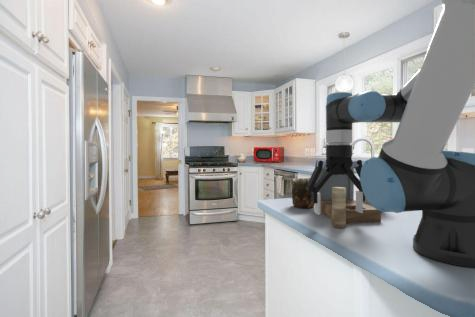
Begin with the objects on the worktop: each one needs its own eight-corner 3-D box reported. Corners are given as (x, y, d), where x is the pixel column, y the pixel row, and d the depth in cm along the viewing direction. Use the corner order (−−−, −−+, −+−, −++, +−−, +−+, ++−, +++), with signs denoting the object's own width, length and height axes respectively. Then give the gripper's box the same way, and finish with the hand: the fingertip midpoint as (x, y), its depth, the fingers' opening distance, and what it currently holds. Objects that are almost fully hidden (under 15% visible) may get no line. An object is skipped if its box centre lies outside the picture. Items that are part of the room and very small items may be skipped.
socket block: (380, 221, 88) (380, 209, 88) (340, 223, 87) (340, 211, 86) (353, 209, 105) (353, 199, 105) (318, 211, 103) (318, 200, 103)
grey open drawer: (363, 213, 99) (363, 164, 98) (324, 215, 97) (324, 165, 97) (351, 208, 107) (351, 163, 106) (315, 210, 105) (315, 164, 105)
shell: (322, 209, 107) (322, 179, 106) (294, 209, 107) (294, 179, 106) (314, 203, 117) (314, 176, 117) (289, 203, 118) (289, 176, 117)
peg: (348, 227, 82) (348, 188, 81) (335, 228, 81) (335, 189, 81) (341, 224, 86) (341, 186, 85) (329, 224, 85) (329, 187, 85)
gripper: (369, 144, 87) (369, 208, 88) (295, 144, 85) (295, 211, 86) (384, 143, 80) (383, 214, 81) (303, 144, 77) (303, 217, 78)
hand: (338, 212), depth 83 cm, fingers open, 13 cm apart
